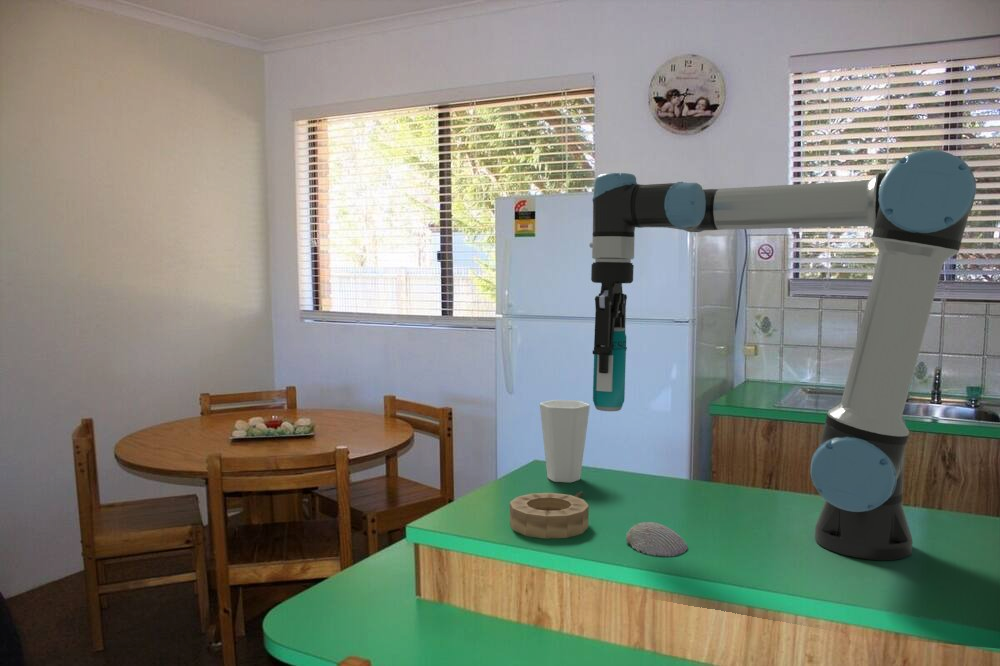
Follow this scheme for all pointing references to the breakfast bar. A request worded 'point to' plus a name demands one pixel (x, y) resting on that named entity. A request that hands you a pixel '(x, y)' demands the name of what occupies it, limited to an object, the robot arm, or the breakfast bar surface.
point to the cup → (564, 438)
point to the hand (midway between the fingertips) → (608, 388)
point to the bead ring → (549, 515)
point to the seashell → (655, 540)
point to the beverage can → (616, 397)
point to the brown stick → (578, 495)
